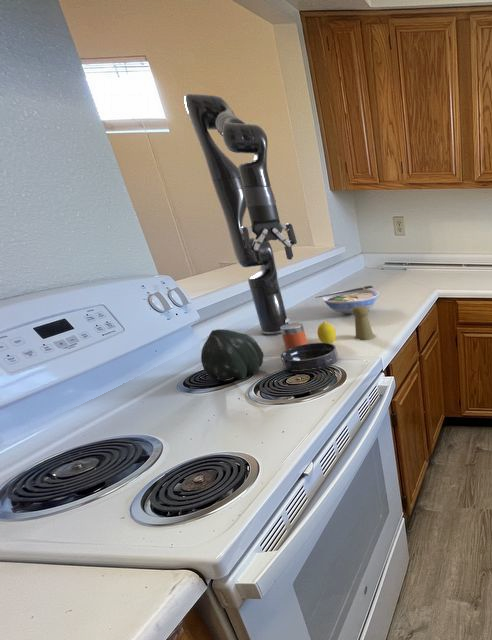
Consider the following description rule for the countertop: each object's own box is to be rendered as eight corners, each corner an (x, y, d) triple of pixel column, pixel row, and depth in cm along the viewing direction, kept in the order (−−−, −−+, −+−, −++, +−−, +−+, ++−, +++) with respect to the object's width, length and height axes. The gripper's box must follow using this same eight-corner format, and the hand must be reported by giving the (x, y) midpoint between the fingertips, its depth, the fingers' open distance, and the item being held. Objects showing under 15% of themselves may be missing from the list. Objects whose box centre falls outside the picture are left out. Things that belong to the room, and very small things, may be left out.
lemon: (321, 349, 135) (316, 325, 132) (319, 344, 140) (314, 321, 137) (339, 346, 138) (334, 322, 134) (336, 341, 142) (332, 318, 139)
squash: (272, 343, 125) (222, 312, 116) (273, 361, 113) (218, 328, 104) (241, 378, 125) (189, 350, 116) (239, 400, 113) (180, 371, 104)
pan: (276, 364, 124) (272, 352, 122) (325, 351, 134) (322, 339, 132) (296, 378, 114) (292, 365, 113) (347, 362, 124) (344, 350, 122)
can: (283, 353, 133) (276, 326, 129) (304, 347, 137) (297, 321, 133) (291, 358, 129) (284, 330, 125) (312, 352, 133) (306, 325, 129)
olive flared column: (368, 340, 142) (363, 309, 137) (352, 339, 143) (346, 308, 139) (376, 334, 147) (371, 304, 143) (361, 334, 148) (355, 303, 144)
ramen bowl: (335, 324, 161) (331, 303, 158) (315, 313, 177) (310, 294, 173) (393, 311, 176) (391, 292, 172) (369, 302, 192) (367, 284, 188)
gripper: (282, 202, 127) (294, 257, 134) (229, 205, 118) (245, 263, 125) (291, 202, 122) (303, 259, 129) (238, 205, 113) (254, 265, 120)
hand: (275, 261), depth 127 cm, fingers open, 8 cm apart
